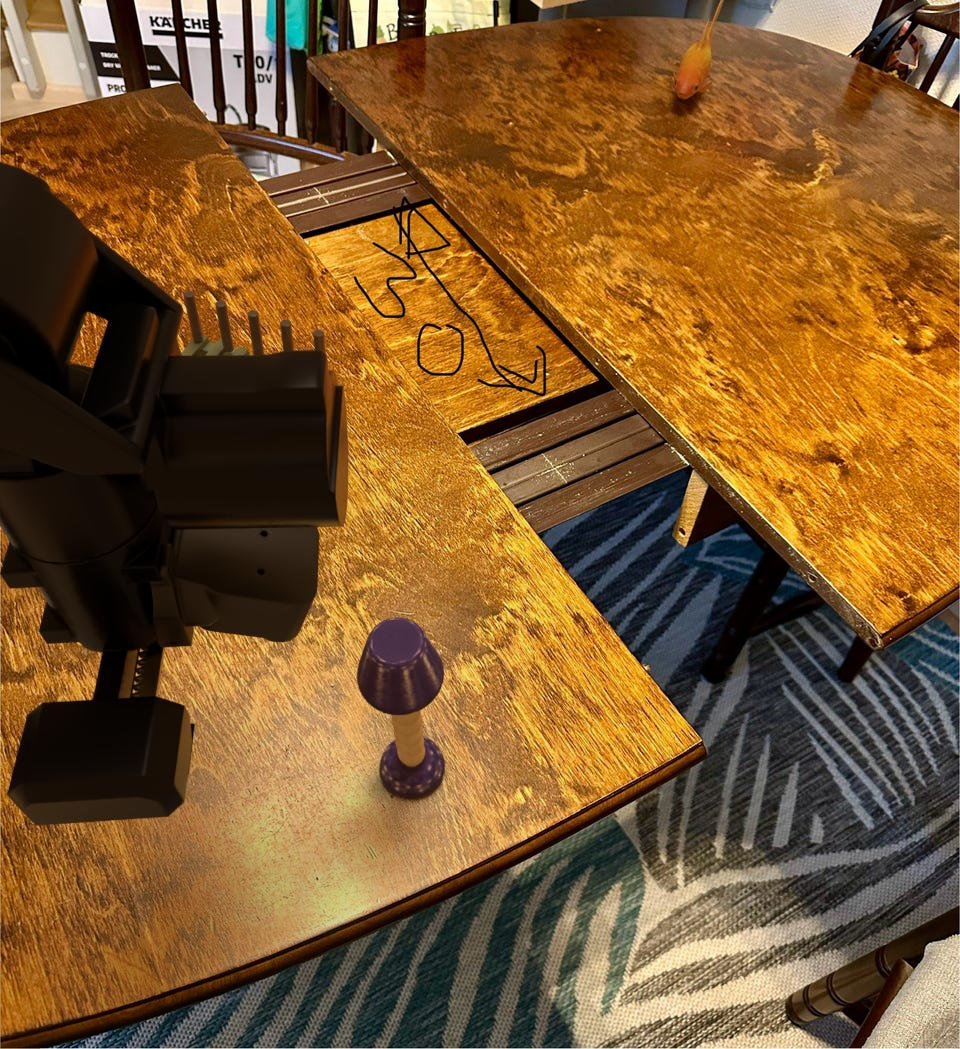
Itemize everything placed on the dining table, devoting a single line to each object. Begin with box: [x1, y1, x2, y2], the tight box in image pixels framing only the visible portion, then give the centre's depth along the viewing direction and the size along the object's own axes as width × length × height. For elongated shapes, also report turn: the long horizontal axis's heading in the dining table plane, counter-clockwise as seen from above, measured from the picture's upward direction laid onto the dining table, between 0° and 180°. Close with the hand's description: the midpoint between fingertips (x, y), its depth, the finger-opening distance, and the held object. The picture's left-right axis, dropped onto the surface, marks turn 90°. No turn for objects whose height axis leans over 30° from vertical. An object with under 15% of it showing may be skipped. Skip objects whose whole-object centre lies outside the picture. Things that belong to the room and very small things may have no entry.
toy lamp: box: [356, 616, 446, 800], centre depth 52 cm, size 5×5×17 cm
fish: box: [672, 0, 725, 100], centre depth 119 cm, size 22×6×10 cm, turn 159°
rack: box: [181, 290, 327, 356], centre depth 74 cm, size 14×12×7 cm
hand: (176, 695), depth 47 cm, fingers open, 9 cm apart
